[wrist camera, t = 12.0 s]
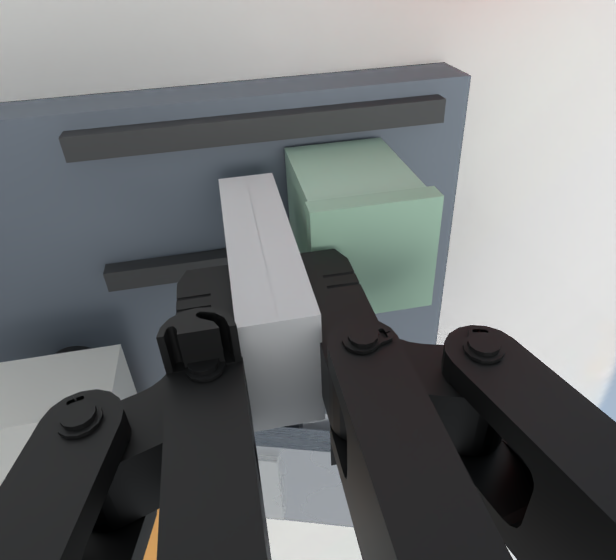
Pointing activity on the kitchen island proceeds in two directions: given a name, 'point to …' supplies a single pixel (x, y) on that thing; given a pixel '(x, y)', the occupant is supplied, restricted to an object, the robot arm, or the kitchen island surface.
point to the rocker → (300, 477)
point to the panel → (185, 194)
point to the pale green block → (367, 217)
